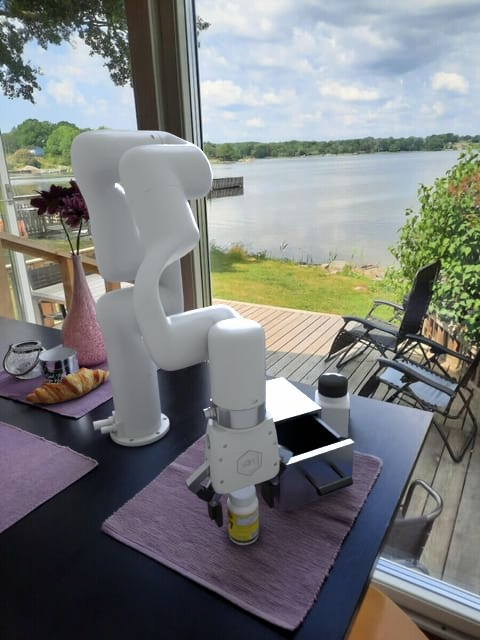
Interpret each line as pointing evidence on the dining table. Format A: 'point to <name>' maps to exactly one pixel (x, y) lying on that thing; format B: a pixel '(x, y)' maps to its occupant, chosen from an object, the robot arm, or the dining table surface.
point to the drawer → (313, 461)
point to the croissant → (68, 386)
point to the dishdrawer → (288, 402)
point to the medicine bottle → (334, 402)
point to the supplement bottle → (243, 516)
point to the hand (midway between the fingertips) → (243, 510)
